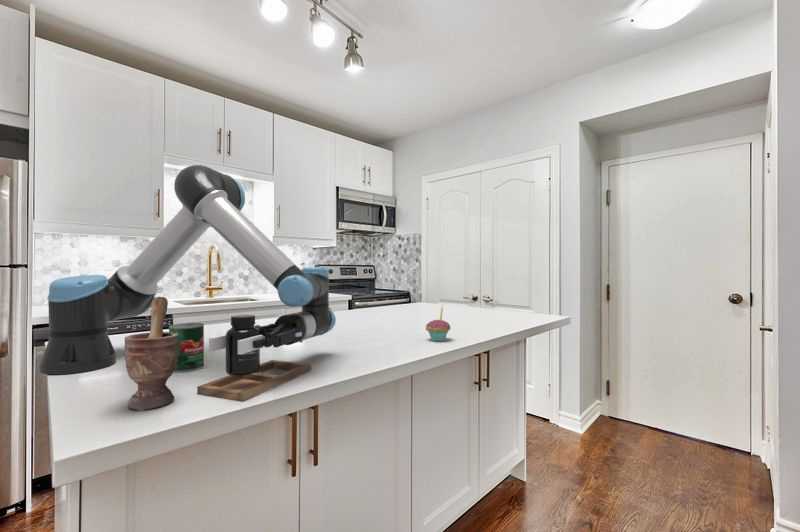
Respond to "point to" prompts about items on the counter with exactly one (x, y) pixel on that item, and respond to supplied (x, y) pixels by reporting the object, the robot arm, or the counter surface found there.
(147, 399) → the mortar and pestle
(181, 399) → the counter surface
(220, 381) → the divided wooden tray
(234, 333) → the supplement bottle
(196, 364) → the canned tomato
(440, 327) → the cupcake
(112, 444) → the counter surface
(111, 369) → the counter surface
